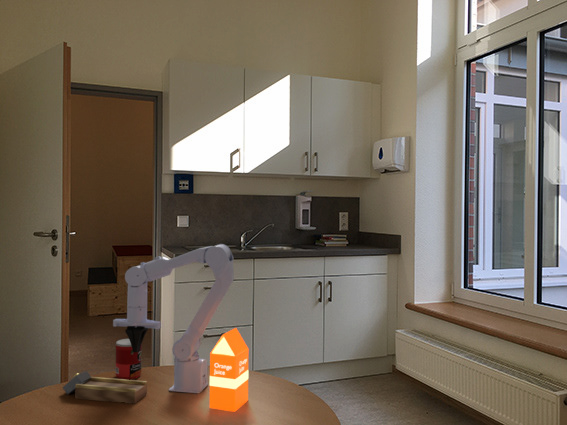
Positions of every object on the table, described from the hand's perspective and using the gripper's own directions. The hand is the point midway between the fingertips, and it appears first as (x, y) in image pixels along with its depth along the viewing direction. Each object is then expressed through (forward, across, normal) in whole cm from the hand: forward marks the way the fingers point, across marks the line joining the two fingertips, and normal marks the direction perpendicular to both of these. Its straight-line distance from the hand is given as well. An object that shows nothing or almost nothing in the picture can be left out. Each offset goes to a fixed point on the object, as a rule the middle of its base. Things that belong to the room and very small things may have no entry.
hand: (136, 351), depth 147 cm
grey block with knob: (+9, -13, -8) cm, 18 cm away
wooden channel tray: (+10, -3, -9) cm, 14 cm away
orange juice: (+10, +31, -7) cm, 34 cm away
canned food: (+11, -7, +8) cm, 15 cm away
